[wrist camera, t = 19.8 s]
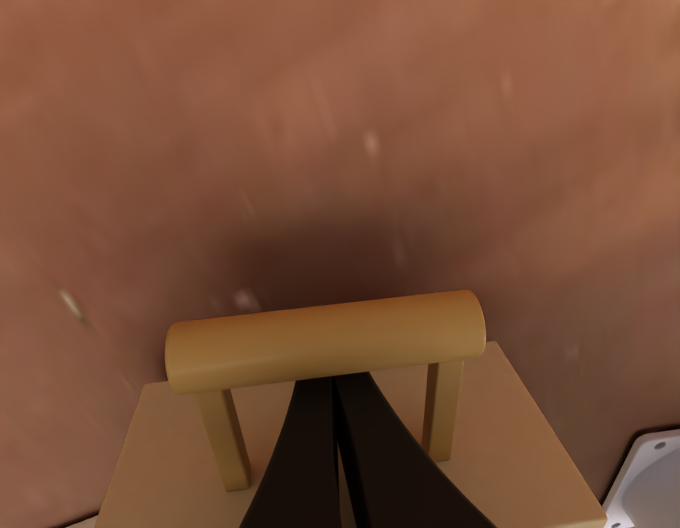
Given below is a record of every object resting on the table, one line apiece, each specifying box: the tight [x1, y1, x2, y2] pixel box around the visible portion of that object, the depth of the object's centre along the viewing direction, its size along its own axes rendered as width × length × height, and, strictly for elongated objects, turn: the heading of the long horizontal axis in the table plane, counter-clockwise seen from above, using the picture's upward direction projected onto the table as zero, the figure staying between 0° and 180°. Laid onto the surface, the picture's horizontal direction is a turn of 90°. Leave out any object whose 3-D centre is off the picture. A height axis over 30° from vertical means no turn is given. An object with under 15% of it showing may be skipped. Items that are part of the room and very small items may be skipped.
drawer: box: [94, 289, 608, 528], centre depth 14 cm, size 18×12×6 cm, turn 3°
